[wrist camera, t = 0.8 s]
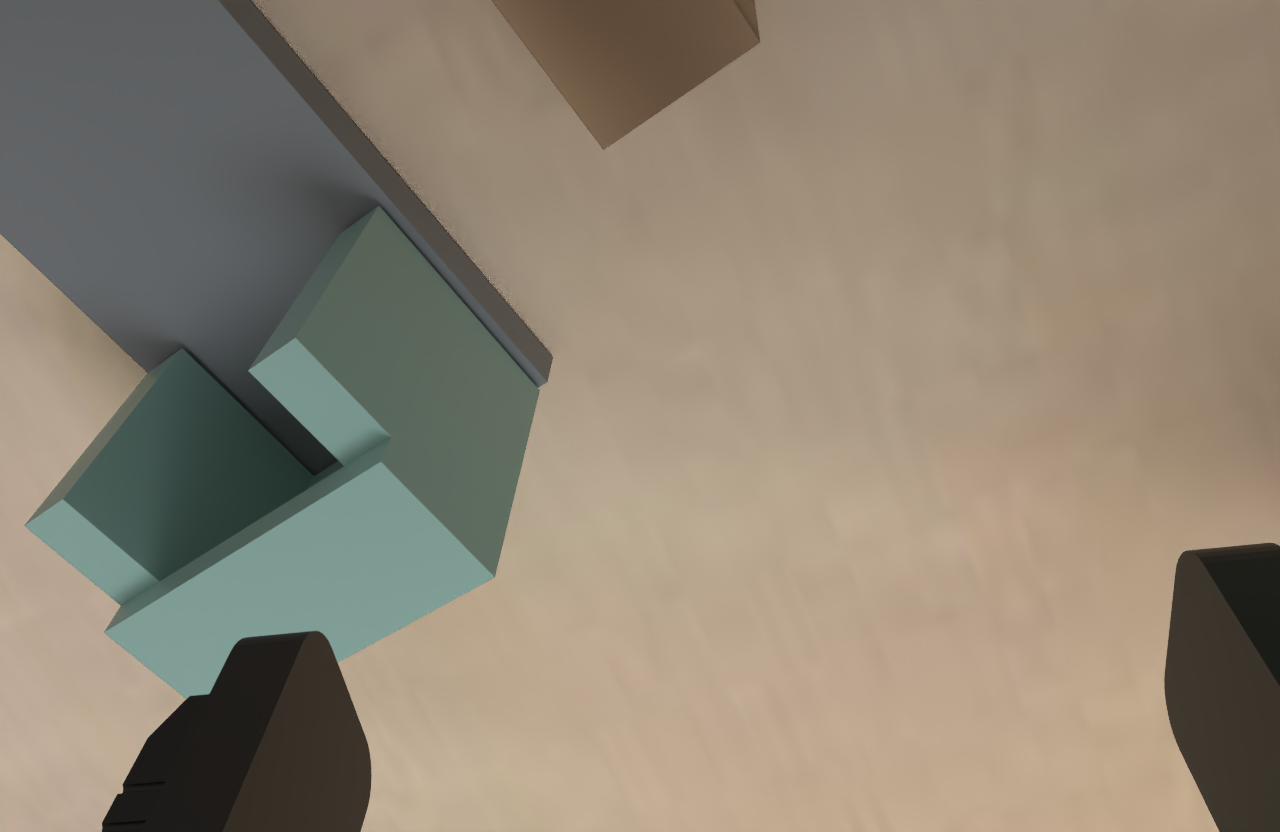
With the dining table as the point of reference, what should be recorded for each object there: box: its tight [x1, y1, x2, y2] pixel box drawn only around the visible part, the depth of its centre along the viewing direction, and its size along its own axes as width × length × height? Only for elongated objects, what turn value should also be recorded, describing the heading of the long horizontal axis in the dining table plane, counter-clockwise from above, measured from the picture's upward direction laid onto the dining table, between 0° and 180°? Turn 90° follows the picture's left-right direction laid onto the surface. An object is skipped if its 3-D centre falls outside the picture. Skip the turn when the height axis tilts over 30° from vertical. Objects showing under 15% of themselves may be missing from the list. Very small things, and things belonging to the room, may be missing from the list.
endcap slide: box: [24, 206, 540, 699], centre depth 25 cm, size 8×6×7 cm
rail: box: [0, 0, 553, 476], centre depth 23 cm, size 8×21×7 cm, turn 36°
